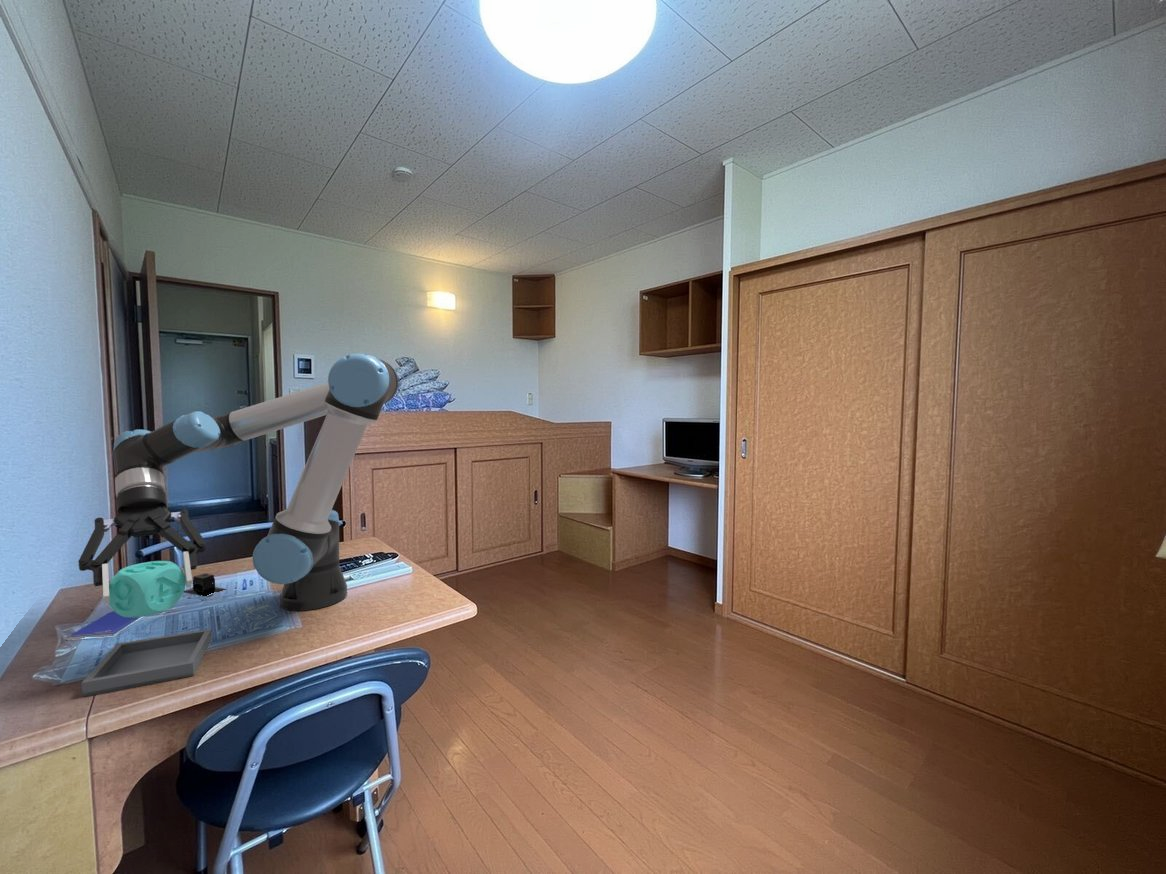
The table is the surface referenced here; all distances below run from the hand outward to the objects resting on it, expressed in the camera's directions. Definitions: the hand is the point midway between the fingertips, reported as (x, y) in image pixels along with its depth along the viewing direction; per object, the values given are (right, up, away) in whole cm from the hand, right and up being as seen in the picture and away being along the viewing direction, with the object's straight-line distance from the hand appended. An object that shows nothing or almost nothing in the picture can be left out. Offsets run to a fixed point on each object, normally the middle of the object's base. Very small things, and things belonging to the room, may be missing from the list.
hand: (149, 591), depth 89 cm
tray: (-2, -15, +3) cm, 15 cm away
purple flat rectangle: (-26, -14, +19) cm, 35 cm away
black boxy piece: (-21, -13, +40) cm, 47 cm away
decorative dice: (-2, -4, +2) cm, 5 cm away
